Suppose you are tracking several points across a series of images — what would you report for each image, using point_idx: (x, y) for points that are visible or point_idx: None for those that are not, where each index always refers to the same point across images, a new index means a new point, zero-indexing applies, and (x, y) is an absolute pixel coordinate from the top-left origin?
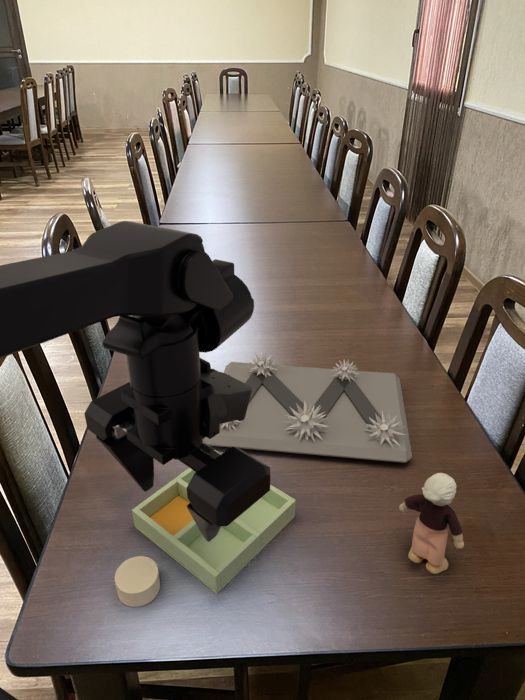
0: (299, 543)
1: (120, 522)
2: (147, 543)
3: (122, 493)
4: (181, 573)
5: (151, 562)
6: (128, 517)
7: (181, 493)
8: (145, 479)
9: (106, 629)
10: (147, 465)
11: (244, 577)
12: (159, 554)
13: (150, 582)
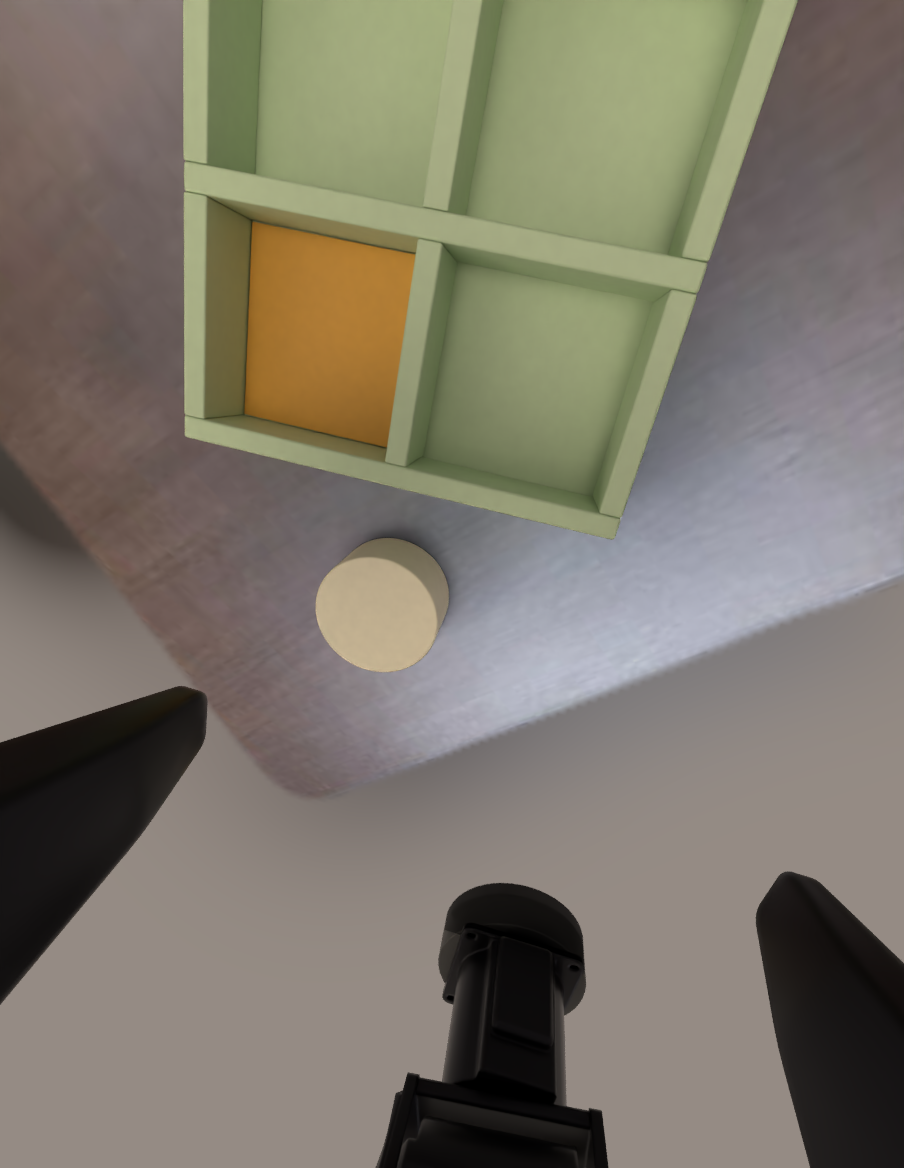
0: (838, 143)
1: None
2: None
3: (95, 326)
4: None
5: (385, 567)
6: None
7: (259, 217)
8: (133, 806)
9: (401, 703)
10: (21, 856)
11: (663, 420)
12: None
13: (428, 622)
